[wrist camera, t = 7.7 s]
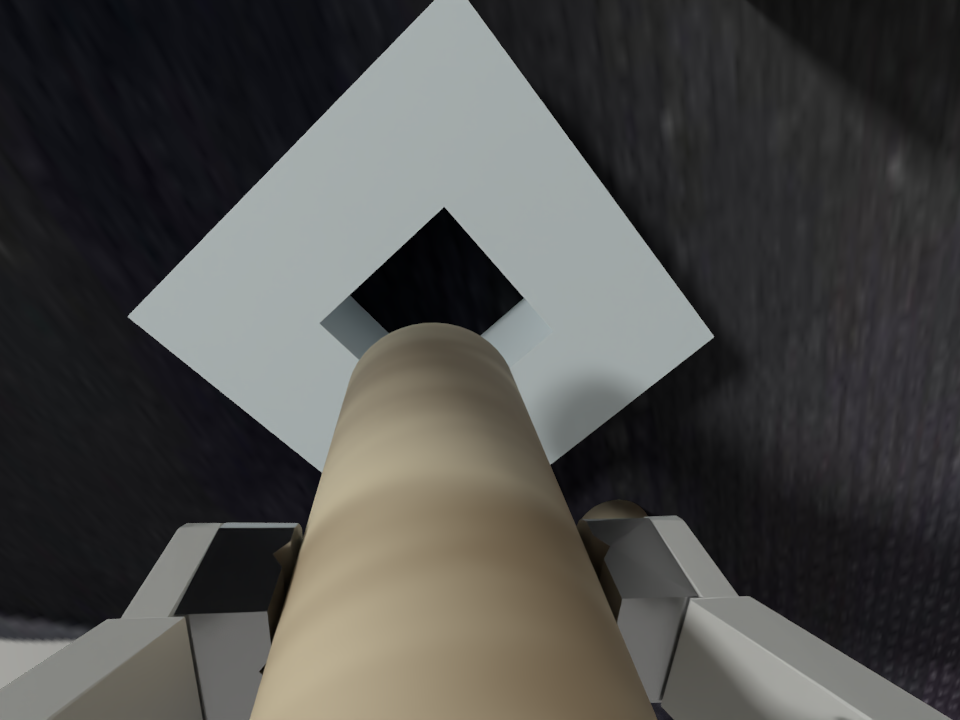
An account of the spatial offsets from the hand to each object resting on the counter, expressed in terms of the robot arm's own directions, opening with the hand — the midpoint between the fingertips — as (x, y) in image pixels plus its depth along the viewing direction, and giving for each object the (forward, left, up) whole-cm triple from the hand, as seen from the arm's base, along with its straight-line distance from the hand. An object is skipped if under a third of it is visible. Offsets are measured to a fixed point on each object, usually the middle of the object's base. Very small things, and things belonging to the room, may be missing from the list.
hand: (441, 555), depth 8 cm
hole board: (0, 0, -16) cm, 16 cm away
